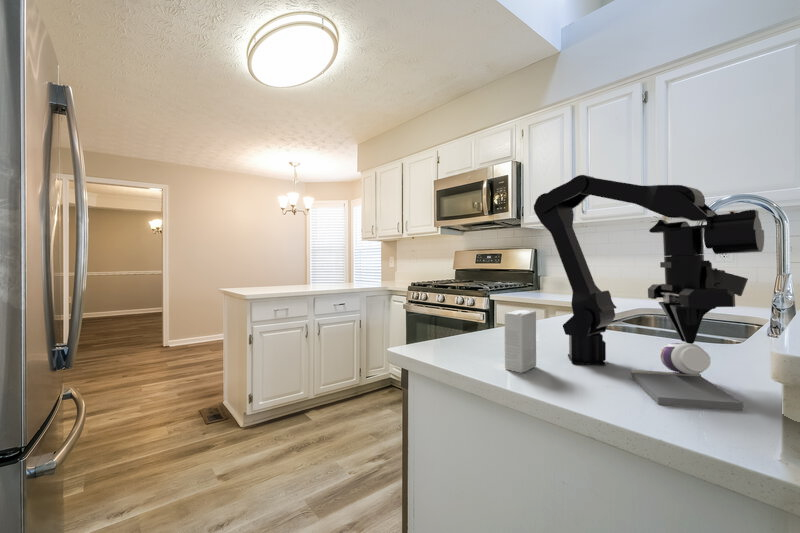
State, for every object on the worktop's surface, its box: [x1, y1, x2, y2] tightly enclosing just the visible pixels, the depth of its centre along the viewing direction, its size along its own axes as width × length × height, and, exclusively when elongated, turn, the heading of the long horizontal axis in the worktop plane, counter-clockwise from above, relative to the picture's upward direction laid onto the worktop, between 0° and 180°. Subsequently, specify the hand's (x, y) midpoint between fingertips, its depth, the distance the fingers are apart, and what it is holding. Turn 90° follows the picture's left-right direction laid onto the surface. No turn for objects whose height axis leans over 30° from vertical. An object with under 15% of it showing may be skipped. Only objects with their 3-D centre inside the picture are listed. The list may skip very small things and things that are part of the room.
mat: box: [630, 369, 744, 412], centre depth 63 cm, size 11×13×2 cm
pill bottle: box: [659, 342, 712, 374], centre depth 67 cm, size 5×5×10 cm
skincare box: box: [504, 309, 537, 374], centre depth 78 cm, size 6×4×12 cm
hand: (687, 342), depth 67 cm, fingers closed
